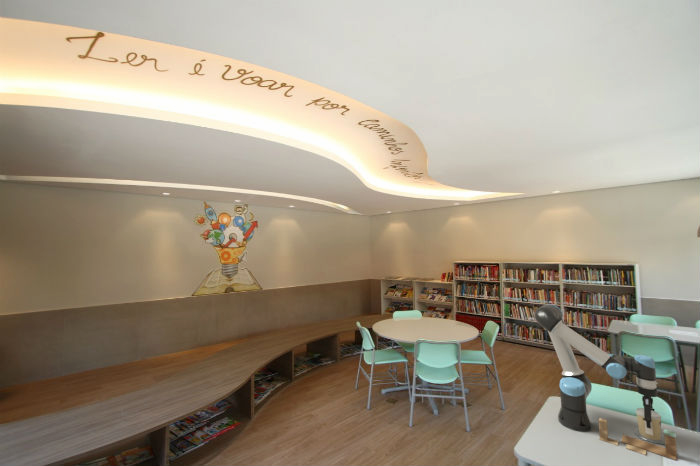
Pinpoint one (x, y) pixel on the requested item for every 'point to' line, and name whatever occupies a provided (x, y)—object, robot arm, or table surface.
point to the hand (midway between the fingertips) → (649, 428)
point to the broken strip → (604, 437)
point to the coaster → (661, 441)
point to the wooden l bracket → (666, 452)
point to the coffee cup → (655, 424)
